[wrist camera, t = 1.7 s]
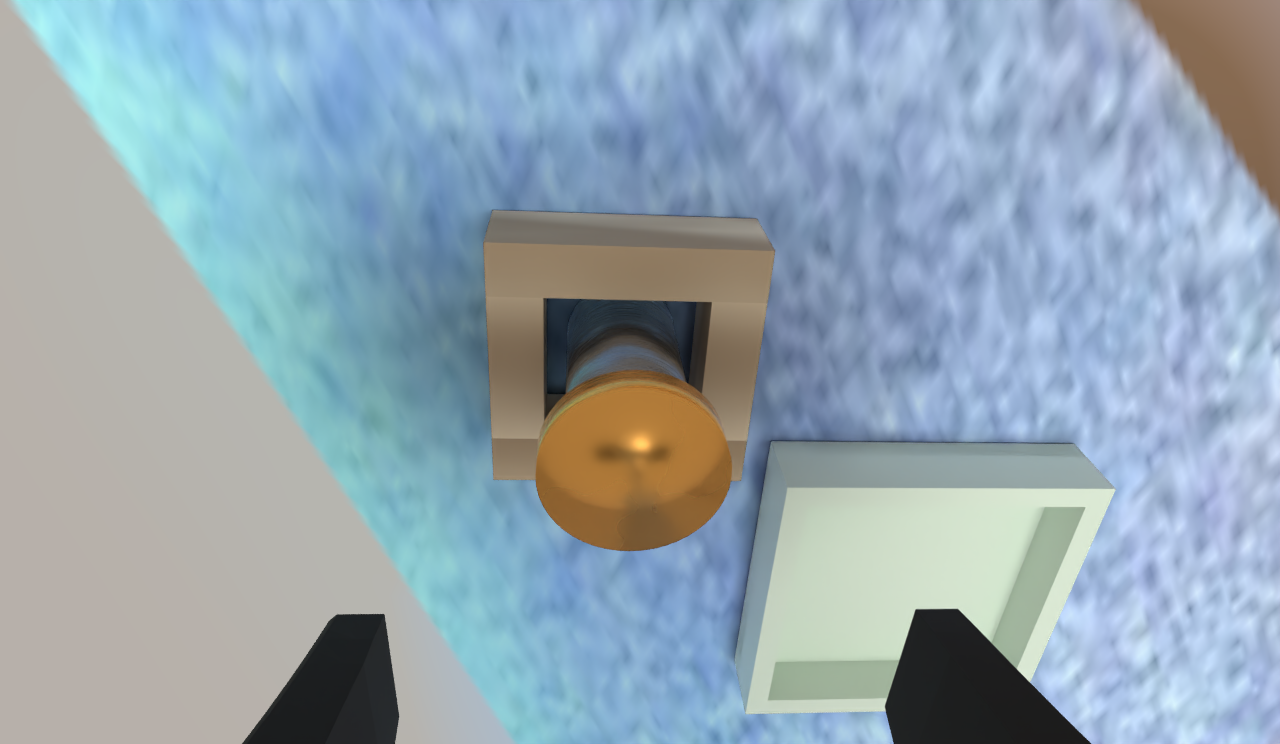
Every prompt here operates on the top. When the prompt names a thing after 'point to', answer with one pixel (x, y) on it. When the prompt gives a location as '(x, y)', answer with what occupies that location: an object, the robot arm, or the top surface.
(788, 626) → the parts tray
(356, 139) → the top surface
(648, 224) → the collar block
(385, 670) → the robot arm
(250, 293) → the top surface
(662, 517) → the pin
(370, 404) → the top surface
